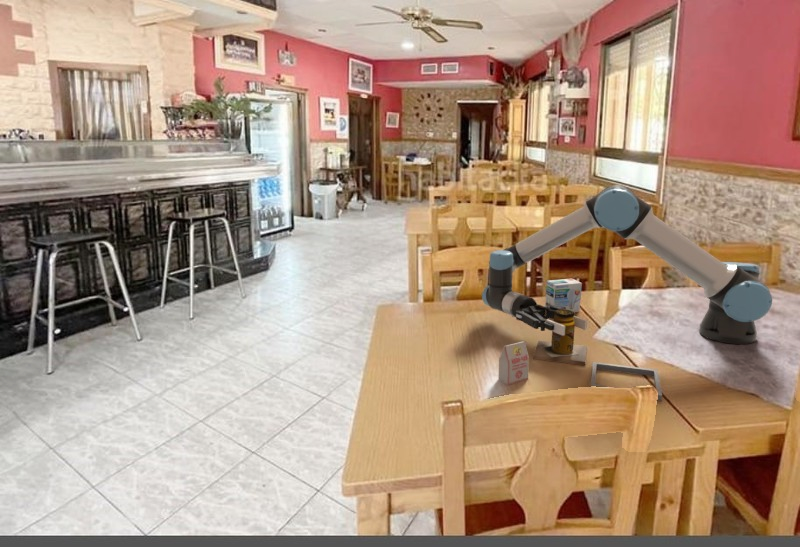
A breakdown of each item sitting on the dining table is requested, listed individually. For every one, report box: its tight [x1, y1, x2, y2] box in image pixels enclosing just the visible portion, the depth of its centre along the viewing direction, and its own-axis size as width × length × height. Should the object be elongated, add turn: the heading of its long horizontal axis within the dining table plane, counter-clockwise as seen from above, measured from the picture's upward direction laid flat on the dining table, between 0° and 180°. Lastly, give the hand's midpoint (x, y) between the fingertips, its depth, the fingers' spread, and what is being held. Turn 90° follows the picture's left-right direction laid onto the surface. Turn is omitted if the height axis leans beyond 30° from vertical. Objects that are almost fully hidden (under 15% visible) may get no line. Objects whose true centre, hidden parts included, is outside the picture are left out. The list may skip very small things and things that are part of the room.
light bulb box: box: [544, 278, 583, 313], centre depth 192 cm, size 11×7×11 cm, turn 104°
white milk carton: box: [498, 340, 530, 386], centre depth 139 cm, size 4×7×10 cm, turn 118°
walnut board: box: [532, 340, 588, 366], centre depth 156 cm, size 14×12×1 cm
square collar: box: [590, 361, 663, 402], centre depth 137 cm, size 16×15×2 cm
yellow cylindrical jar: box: [540, 309, 578, 357], centre depth 154 cm, size 7×8×12 cm
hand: (575, 327), depth 149 cm, fingers open, 8 cm apart
